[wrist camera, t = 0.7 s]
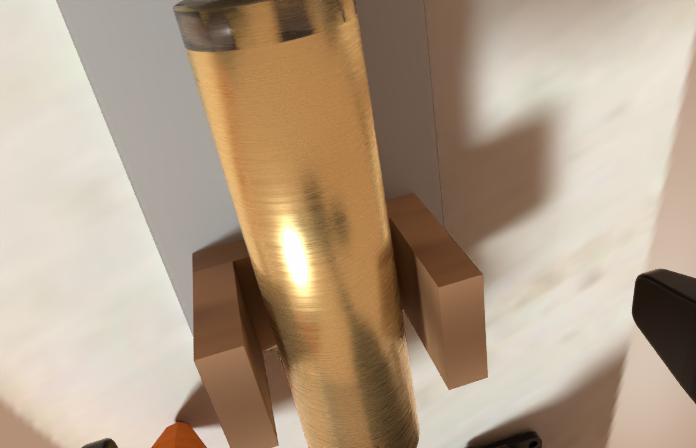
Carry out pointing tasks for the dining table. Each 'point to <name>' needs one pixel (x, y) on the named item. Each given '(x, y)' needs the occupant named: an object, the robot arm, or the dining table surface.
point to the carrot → (179, 437)
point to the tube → (310, 206)
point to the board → (194, 132)
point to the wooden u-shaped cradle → (257, 336)
